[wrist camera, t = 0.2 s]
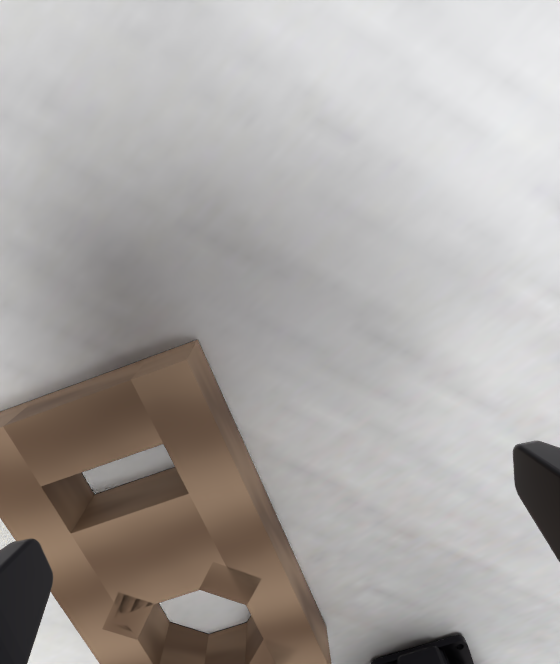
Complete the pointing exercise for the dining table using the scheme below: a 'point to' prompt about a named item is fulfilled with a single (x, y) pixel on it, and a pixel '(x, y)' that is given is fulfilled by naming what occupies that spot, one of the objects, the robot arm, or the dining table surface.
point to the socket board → (155, 518)
